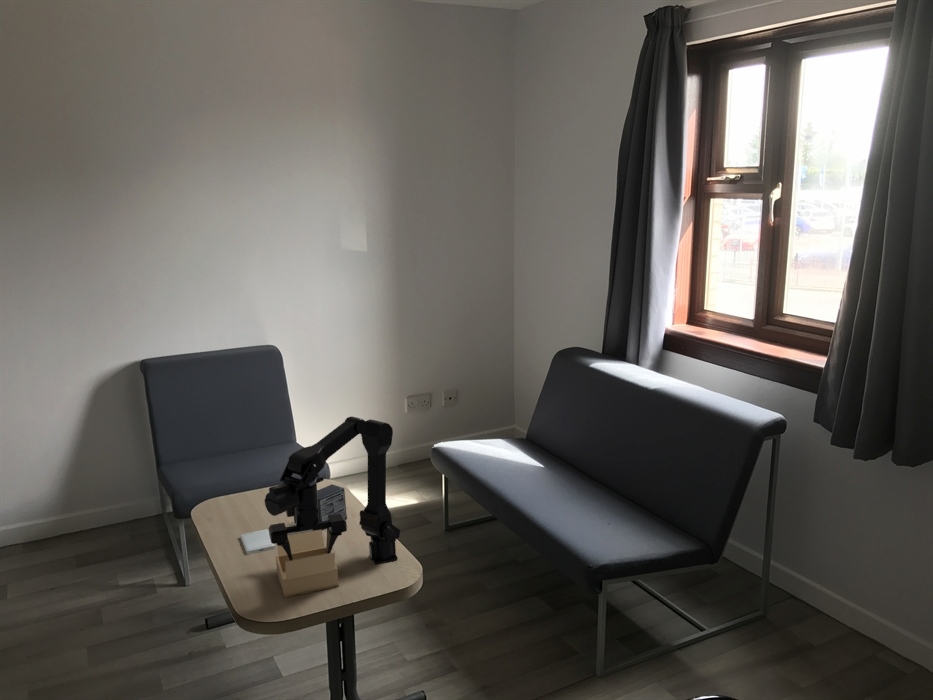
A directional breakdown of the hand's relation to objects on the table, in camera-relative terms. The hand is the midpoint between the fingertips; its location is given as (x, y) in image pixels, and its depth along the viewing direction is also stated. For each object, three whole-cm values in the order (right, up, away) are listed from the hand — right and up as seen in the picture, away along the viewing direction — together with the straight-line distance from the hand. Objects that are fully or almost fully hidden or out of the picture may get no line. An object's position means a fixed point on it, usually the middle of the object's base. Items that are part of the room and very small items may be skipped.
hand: (309, 559), depth 198 cm
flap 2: (0, -2, +1) cm, 2 cm away
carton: (-3, -8, +10) cm, 13 cm away
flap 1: (-6, +1, +16) cm, 17 cm away
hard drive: (-22, -5, +32) cm, 39 cm away
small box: (-3, -1, +45) cm, 45 cm away
